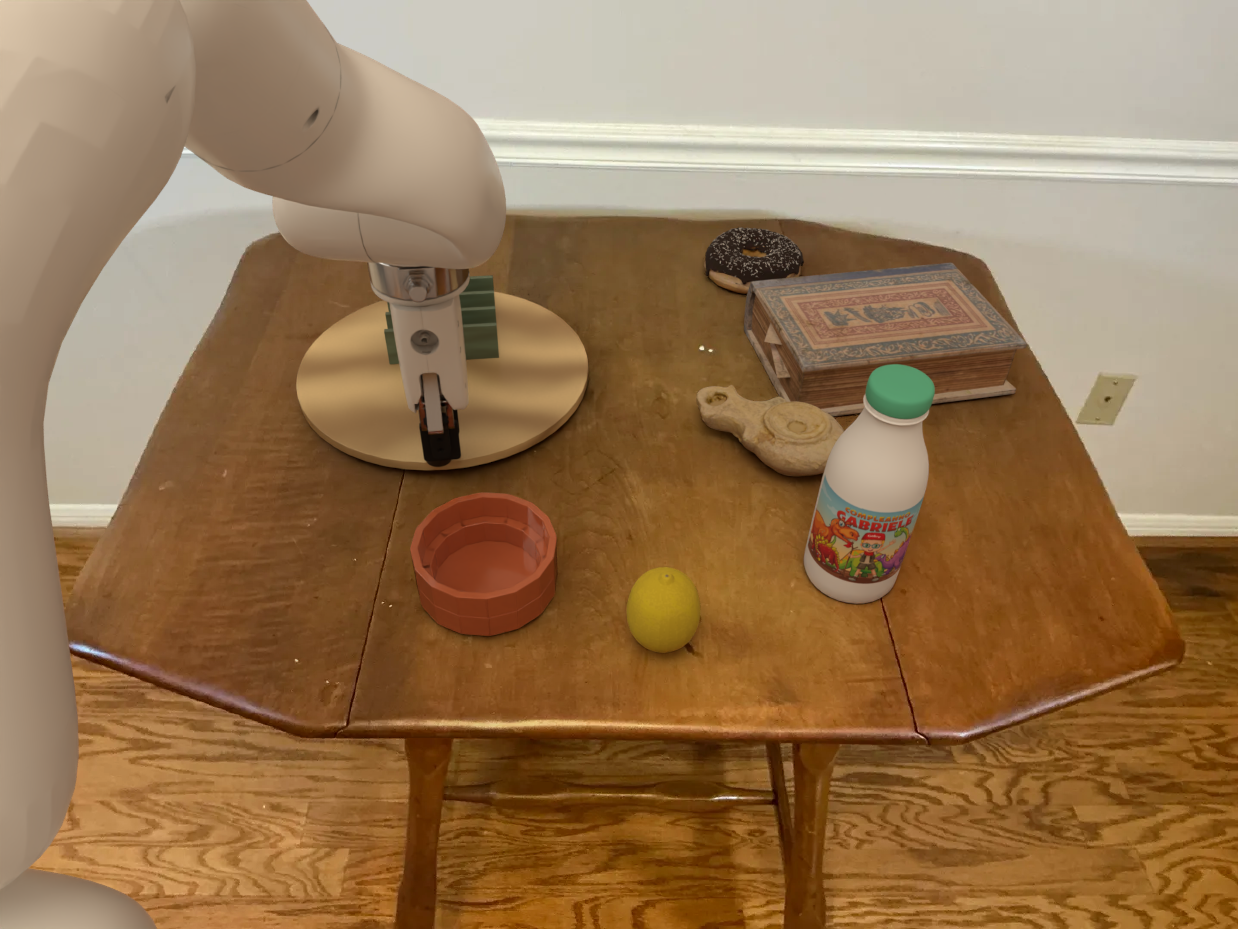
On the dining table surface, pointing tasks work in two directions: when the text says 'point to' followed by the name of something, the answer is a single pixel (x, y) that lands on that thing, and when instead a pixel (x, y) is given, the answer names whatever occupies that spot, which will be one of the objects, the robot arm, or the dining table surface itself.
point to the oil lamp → (773, 429)
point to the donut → (751, 258)
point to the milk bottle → (872, 490)
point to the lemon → (663, 609)
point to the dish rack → (496, 371)
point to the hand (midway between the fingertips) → (442, 444)
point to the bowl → (485, 563)
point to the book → (878, 334)
